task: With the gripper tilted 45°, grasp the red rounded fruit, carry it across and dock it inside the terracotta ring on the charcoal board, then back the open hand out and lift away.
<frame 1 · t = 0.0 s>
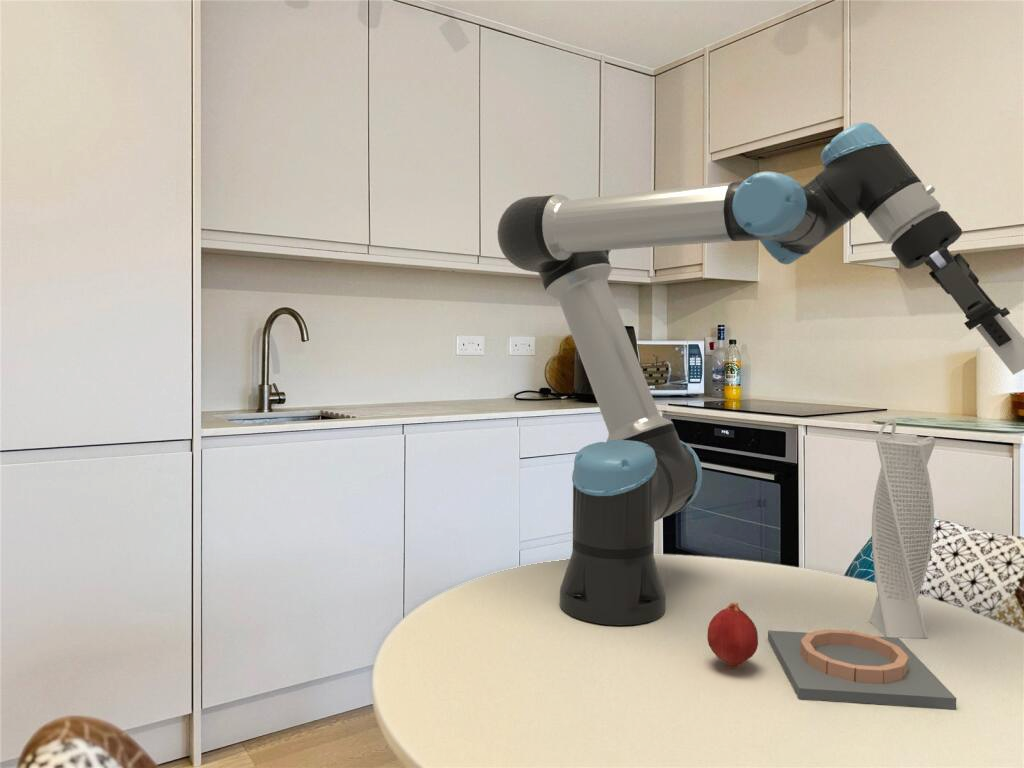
skyscraper: (896, 630, 101), on the table
red rounded fruit: (731, 668, 89), on the table
dock: (852, 670, 88), on the table
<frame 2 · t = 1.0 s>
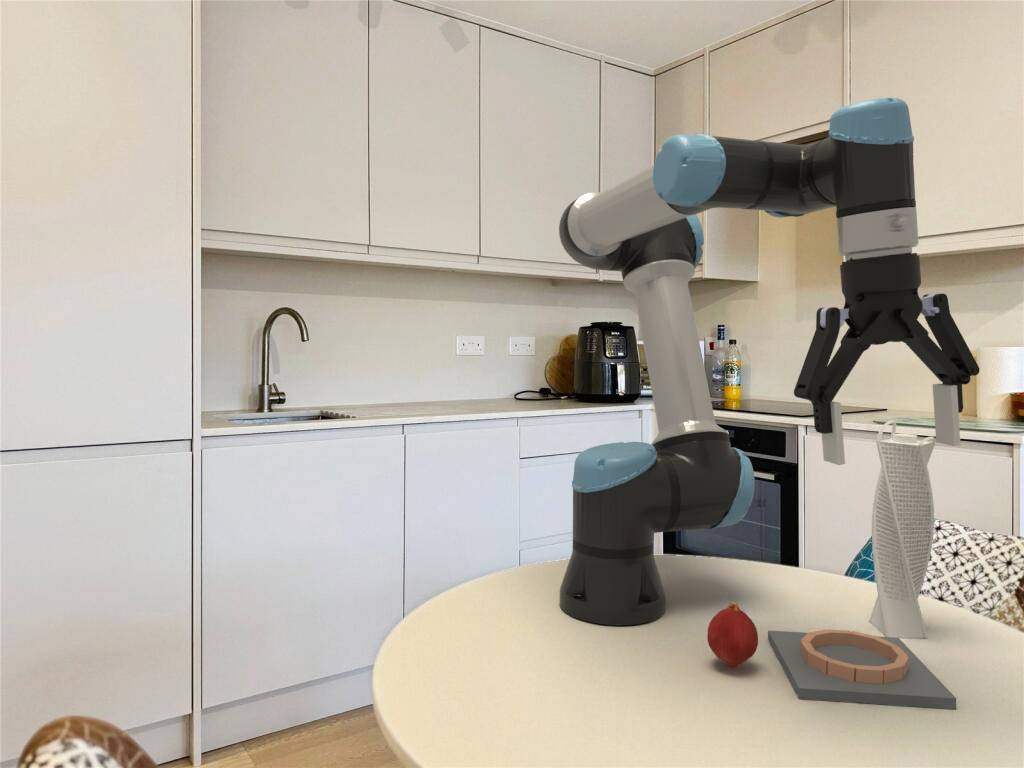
hand: (891, 453, 81), 27 cm above the table, tool pointing down, fingers open, 13 cm apart
nothing on the table moved.
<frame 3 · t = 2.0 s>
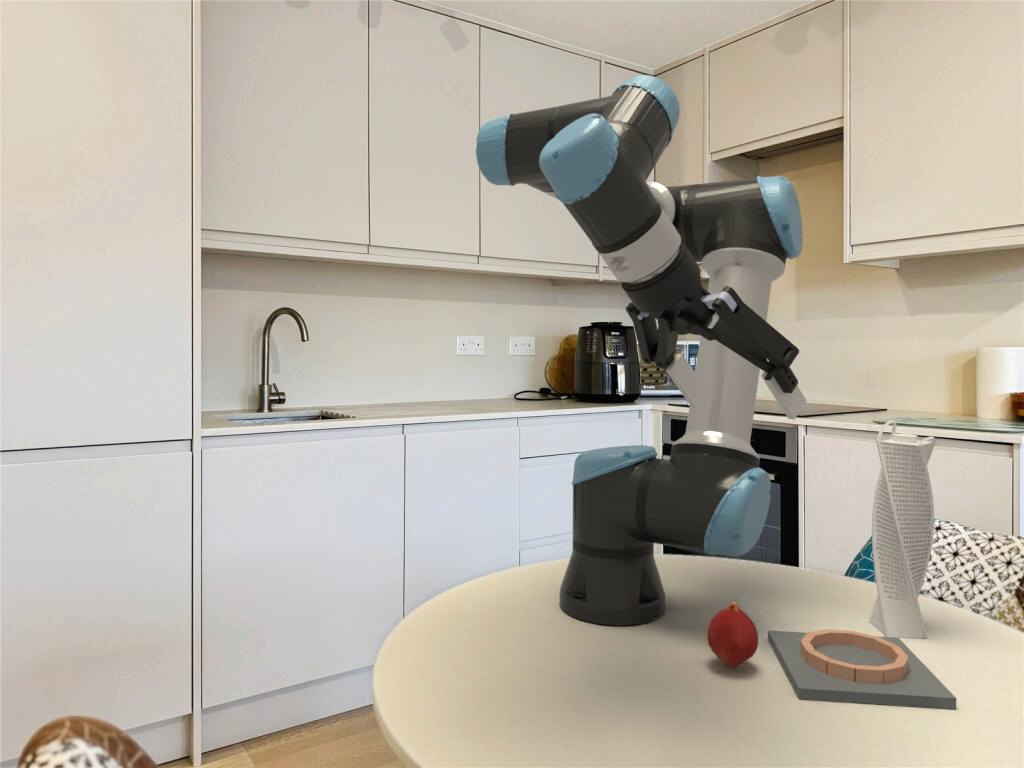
hand: (745, 404, 85), 32 cm above the table, tool tilted 45°, fingers open, 13 cm apart
nothing on the table moved.
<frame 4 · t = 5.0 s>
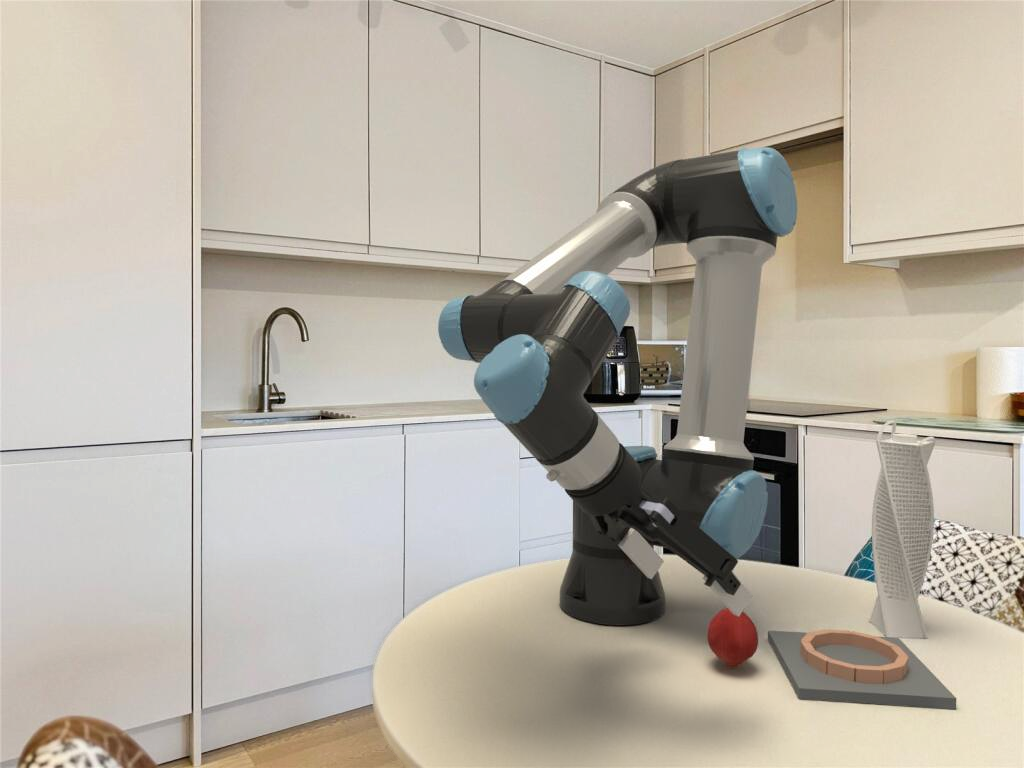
hand: (696, 586, 85), 11 cm above the table, tool tilted 45°, fingers open, 13 cm apart
nothing on the table moved.
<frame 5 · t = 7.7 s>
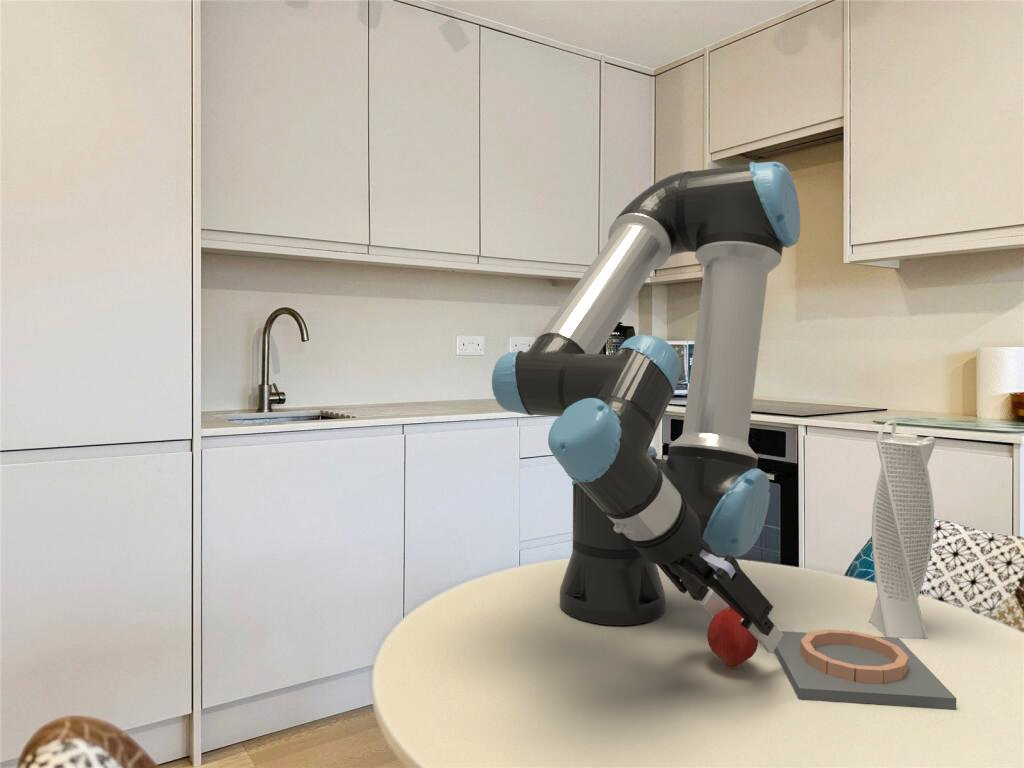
hand: (753, 633, 91), 3 cm above the table, tool tilted 45°, fingers closed on red rounded fruit, 6 cm apart
red rounded fruit: (731, 668, 89), on the table, touching gripper
everything else where it was.
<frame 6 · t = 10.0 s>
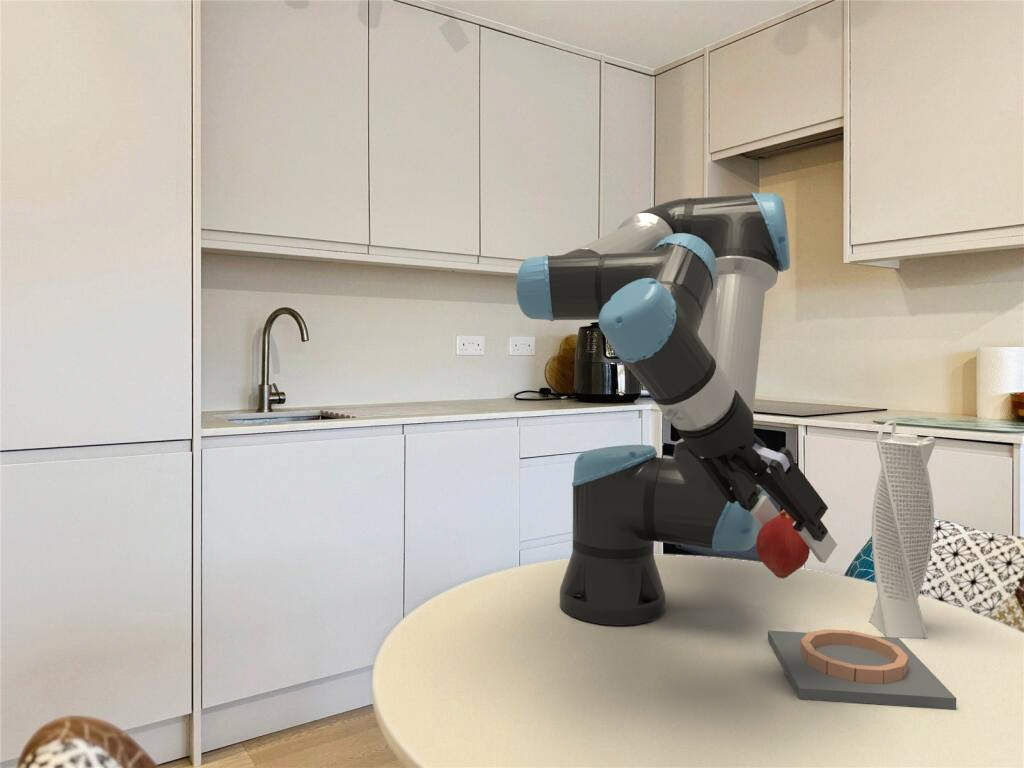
hand: (805, 545, 88), 15 cm above the table, tool tilted 45°, fingers closed on red rounded fruit, 6 cm apart
red rounded fruit: (780, 579, 86), point 11 cm above the table, touching gripper
everything else where it was.
when the fingers open (6 cm above the table, at t = 12.6 s): red rounded fruit drops 1 cm, resting on dock.
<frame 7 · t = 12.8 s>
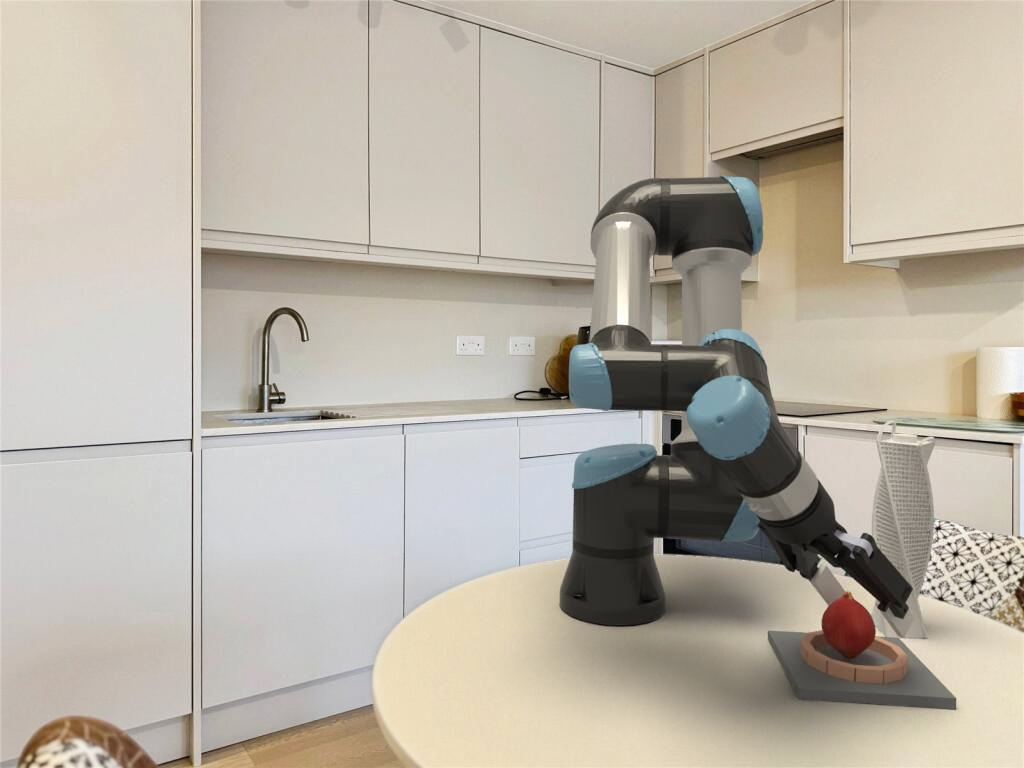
hand: (872, 615, 90), 6 cm above the table, tool tilted 45°, fingers open, 8 cm apart
red rounded fruit: (849, 660, 88), point 1 cm above the table, touching dock
everything else where it was.
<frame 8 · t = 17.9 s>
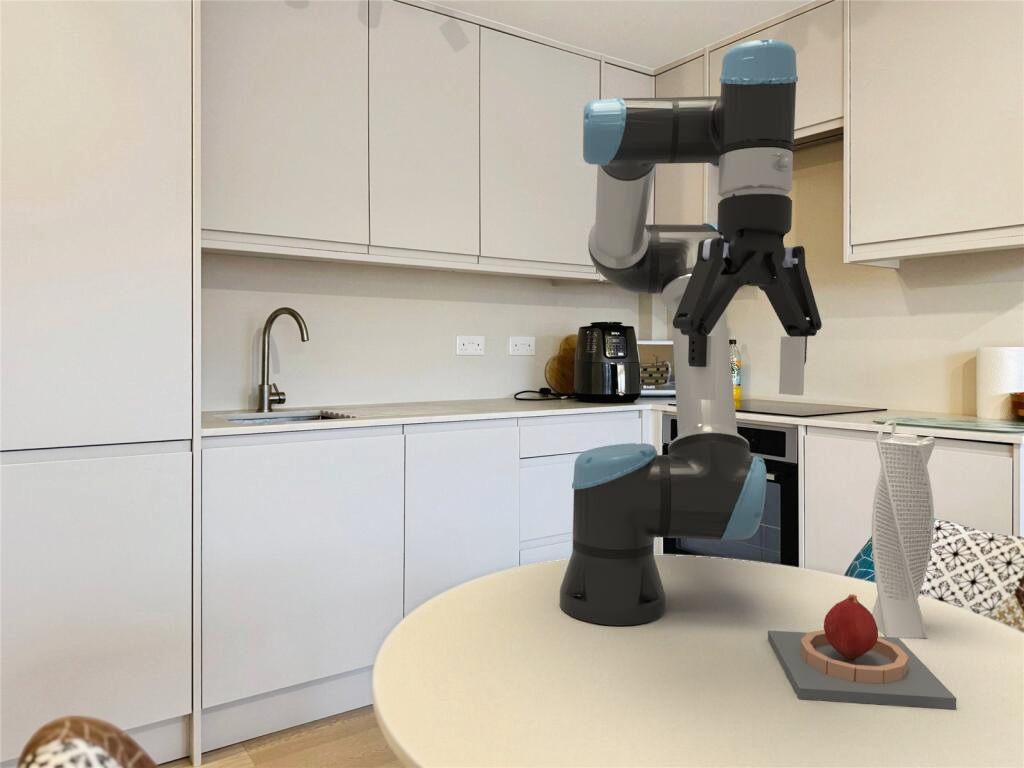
hand: (748, 397, 81), 33 cm above the table, tool pointing down, fingers open, 13 cm apart
nothing on the table moved.
at the end: red rounded fruit inside the target area on the dock (0.4 cm from its centre), point 1.0 cm above the dock's base; the gripper is holding nothing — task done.
